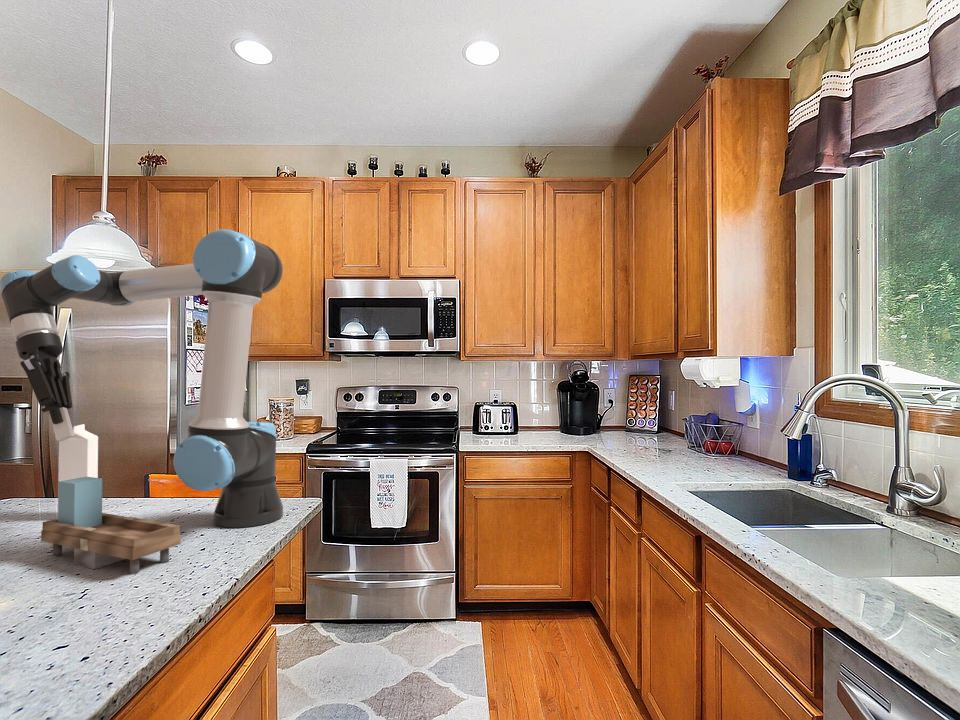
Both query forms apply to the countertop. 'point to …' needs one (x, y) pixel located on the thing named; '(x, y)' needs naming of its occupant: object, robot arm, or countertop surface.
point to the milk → (78, 455)
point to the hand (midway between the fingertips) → (65, 438)
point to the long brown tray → (112, 540)
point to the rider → (80, 501)
